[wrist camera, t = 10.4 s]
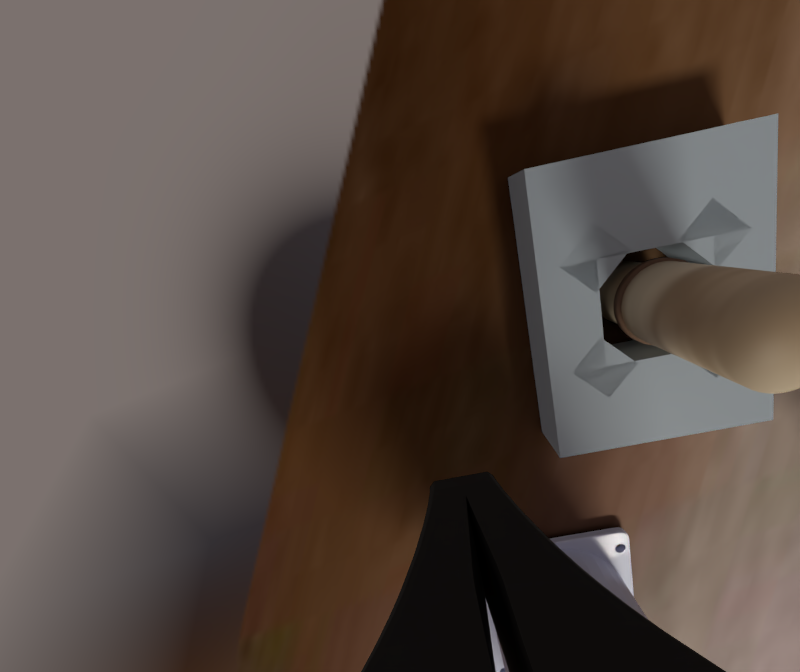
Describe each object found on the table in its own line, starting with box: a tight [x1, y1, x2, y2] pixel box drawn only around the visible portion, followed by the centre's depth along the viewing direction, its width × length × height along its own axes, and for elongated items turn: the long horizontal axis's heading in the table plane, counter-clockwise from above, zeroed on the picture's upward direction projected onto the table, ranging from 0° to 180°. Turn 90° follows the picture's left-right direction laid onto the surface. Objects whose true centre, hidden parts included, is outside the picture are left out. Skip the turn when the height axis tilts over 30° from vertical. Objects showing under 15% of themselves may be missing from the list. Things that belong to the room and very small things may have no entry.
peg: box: [599, 258, 800, 394], centre depth 15 cm, size 3×3×8 cm
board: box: [508, 114, 778, 458], centre depth 17 cm, size 12×9×2 cm
